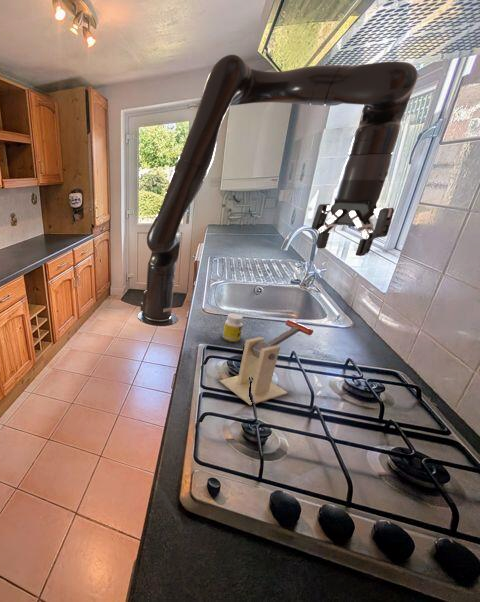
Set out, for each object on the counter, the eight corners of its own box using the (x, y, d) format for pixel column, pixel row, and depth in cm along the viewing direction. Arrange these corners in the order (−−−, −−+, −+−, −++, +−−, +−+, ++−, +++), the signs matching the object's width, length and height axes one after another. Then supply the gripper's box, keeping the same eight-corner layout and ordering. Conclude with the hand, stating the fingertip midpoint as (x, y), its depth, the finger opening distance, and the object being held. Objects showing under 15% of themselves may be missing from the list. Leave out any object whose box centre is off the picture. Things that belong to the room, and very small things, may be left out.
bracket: (253, 374, 77) (264, 330, 72) (286, 396, 69) (300, 348, 64) (219, 384, 73) (227, 338, 69) (249, 408, 66) (261, 358, 61)
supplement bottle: (238, 346, 90) (243, 320, 87) (221, 342, 92) (225, 317, 89) (239, 339, 94) (244, 314, 91) (223, 335, 96) (227, 311, 93)
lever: (290, 325, 72) (289, 317, 71) (313, 335, 67) (313, 326, 66) (246, 351, 70) (245, 343, 69) (267, 364, 65) (266, 355, 64)
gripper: (316, 178, 70) (299, 247, 76) (391, 177, 58) (363, 260, 64) (338, 178, 73) (319, 244, 79) (415, 177, 60) (386, 256, 66)
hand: (339, 251), depth 71 cm, fingers open, 8 cm apart
